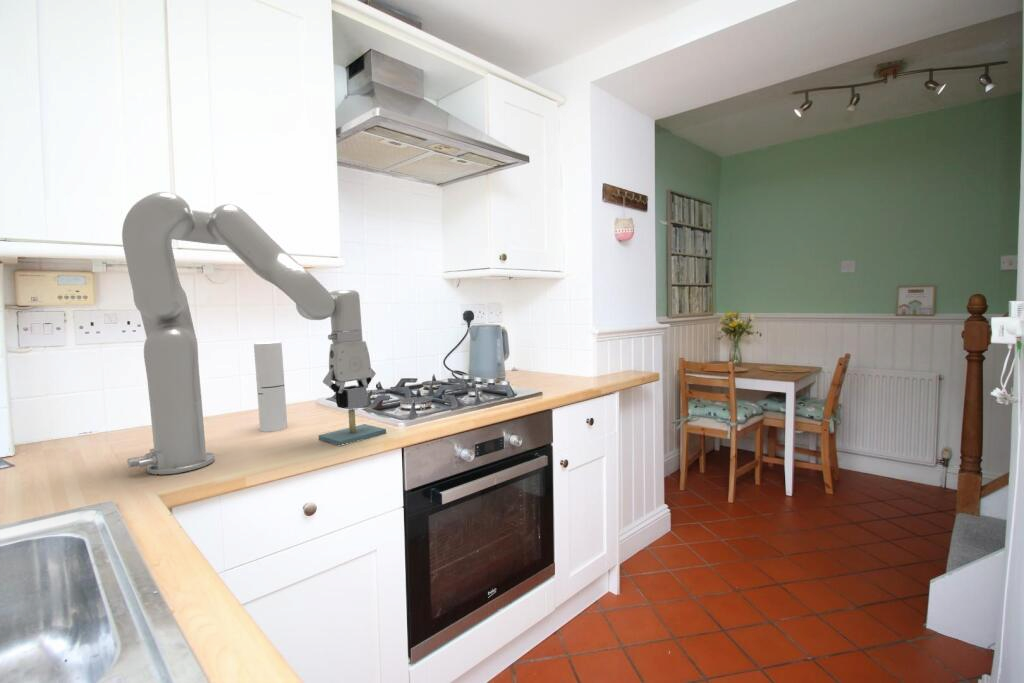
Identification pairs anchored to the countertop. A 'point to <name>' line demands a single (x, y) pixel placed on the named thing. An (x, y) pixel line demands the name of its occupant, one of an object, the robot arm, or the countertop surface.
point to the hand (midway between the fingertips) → (352, 404)
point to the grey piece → (270, 386)
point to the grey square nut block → (355, 396)
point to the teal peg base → (352, 432)
